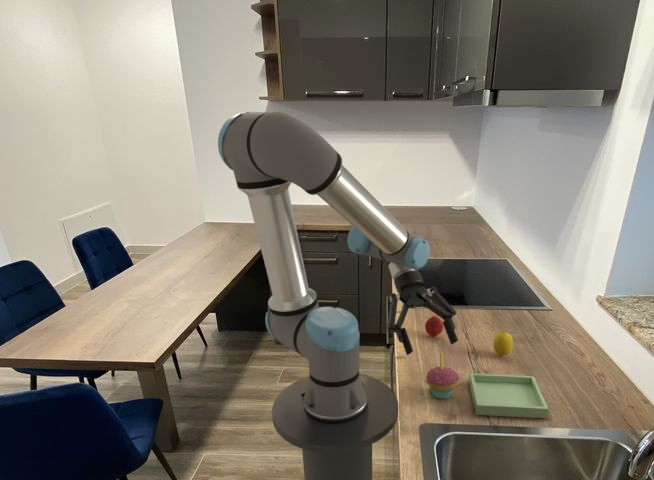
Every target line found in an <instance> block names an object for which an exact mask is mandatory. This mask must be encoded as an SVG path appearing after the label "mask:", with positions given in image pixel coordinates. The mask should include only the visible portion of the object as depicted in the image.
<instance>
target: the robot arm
mask: <svg viewBox="0 0 654 480" xmlns="http://www.w3.org/2000/svg"><path fill="white" fill-rule="evenodd" d="M217 150H218V153H219V157H220V158H221V160H222V162H223V163H224V164H225V165H226V167H228V168H229V170H230V171H231V170H232V171H233V175H234V179H235V182H236V186H237V189H238V190H239V191H240V192H242V193H243V194H245V195H246V196H247V199H248V203H249V206H250V211H251V215H252V219H253V222H254V226H255V231H256V235H257V239H258V242H259V246H260V251H261V255H262V258H263V261H264V267H265V270H266V274H267V279H268V282H269V286H270V290H271V293H272V295H271V296H270V298H269V299H268V301H267V305H268V307H267V312H265V322H264V323H265V327H266V329H267V332H268V333H269V335H270V336H271V337H272V338H274V340H275V341H277V342H278V343H279V344H281V345H282V346H283V345H284V346H285V347H287V348H288V349H290V350H292V351H294V352H296V353H297V354H298V355H300V356H302V357H304V358H305V359H307V361H308V373H309V376H310V379H309V382H308V385H307V389H306V392H305V393H302V394H301V396H302V397H304V399H303V402H304V410H305V412H306V414H307V415H308V416H309V417H310V418H312V419H314V420H316V421H319V422H322V423H329V424H337V423H344V422H348V421H351V420H354V419H356V418H358V417H359V416H360V415H362V414H363V413H364V411H365V410H366V408H367V393H366V391H365V389H364V387H365V385H364V384H363V382H362V380H361V378H360V376H359V374H360V336H361V334H360V329H359V322H358V319H357V317H355V316H354V314H353V313H352V312H350V311H348V310H347V309H344V308H341V307H333V306H321V307H320V305H319V301H318V296H317V292H316V291H315V290H314V289H312V288H310V287H309V284H308V278H307V273H306V268H305V264H304V259H303V254H302V250H301V244H300V240H299V239H300V238H299V235H298V230H297V225H296V220H295V216H294V215H295V214H294V211H293V206H292V201H291V196H290V192H289V191H290V190H289V187H290V186H291V184H294V185H296V186H298V187H299V188H301V189H302V190H303V191H304V192H305V193H307V194H308V195H311V196H318V197H319V198H320V199H322V200H323V201H324V202H325V203H326V204H327V205H329V206H330V207H331V208H332V209H333V210H334V211H335V212H336V213H338V214H339V215H340V216H341V217H342V218H343V219H345V220H346V221H347V222H348V223H349V224H350V225H352V226H353V227H351V229H350V230H349V232H348V236H347V246H348V249H349V250H350V251H351V252H352V253H353V254H358V255H360V256H367V257H368V256H369V257H372V258H375V259H378V260H382V261H385V262H386V264H387V267H388V270H389V272H390V276H391V278H392V280H393V284H394V287H395V290H396V292H397V293H398V294H397V293H396V292H393V293H391V294H390V296H389V297H388V302H389V310H388V318H387V325H386V330H387V331H389V332H390V331H392V332H393V333H395V334H396V337H397V341H398V342H399V343H402V345H403V348H404V352H405V355H407V356H408V355H410V354H412V353H413V352H414V349H413V346H412V343H411V340H410V337H409V335H408V332H407V329H406V327H403V325H404V322H405V320H406V317H407V314H408V312H409V310H410V309H411V310H412V309H415V308H422V307H423V308H427V309H428V310H429V311H431V312H432V313H433V314H436V315H437V317H438V318H440V319H442V320H443V321H442V323H443V328H444V330H445V332H446V335H447V337H448V340H449V343H450V345H453V344H455V343H456V342H458V341H459V339H458V336H457V334H456V325H455V322H454V319H453V318H454V316H456V315H457V310H456V309H455V308H454V307H452V305H451V304H450V303H449V302H448V301H447V300H446V299H445V298H444V297H443V295H441V293H440V292H439V291H438V289H437V287H436V286H435V285H433V286H431V287H430V288H426V287H425V283H424V280H423V277H422V275H421V272H420V271H419V269H420V270H421V268H423V267H424V266H426V264H427V263H428V260H429V258H430V256H431V246H430V244H429V242H428V240H426V239H424V238H422V237H419V236H415V235H412V234H411V233H410V232H409V230H408V229H406V228H405V226H403V225H402V224H401V222H399V221H398V220H397V218H395V217H394V215H392V213H390V212H389V211H388V209H386V208H385V206H384V205H382V204H381V202H380V201H379V200H378V199H377V198H376V197H375V196H374V195H373V194H372V193H371V192H370V191H368V189H367V188H366V187H365V186H364V185H363V184H362V183H361V182H360V181H359V180H358V179H357V178H356V177H355V176H354V175H353V174H352V173H351V172H350V171H349V169H347V168H346V167H345V166H344V165H343V158H342V156H341V154H340V153H339V151H337V150H336V149H335V148H334V147H333V146H332V145H331V144H330V142H328V141H327V140H326V139H325V138H324V137H323V136H322V135H321V134H320V133H318V132H317V131H316V130H315V129H314V128H312V127H311V126H310V125H309V124H308V123H307V122H305V121H303V120H302V119H301V118H298V117H297V116H295V115H293V114H291V113H288V112H283V111H245V112H241V113H237V114H235V115H232V116H231V117H229V118H228V119H227V120H225V122H224V123H223V125H222V127H221V128H220V130H219V132H218V136H217ZM399 301H400V302H401V303H402V307H401V310H400V313H399V316H398V318H397V320H396V317H397V311H398V303H399ZM363 385H364V386H363Z"/></svg>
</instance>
